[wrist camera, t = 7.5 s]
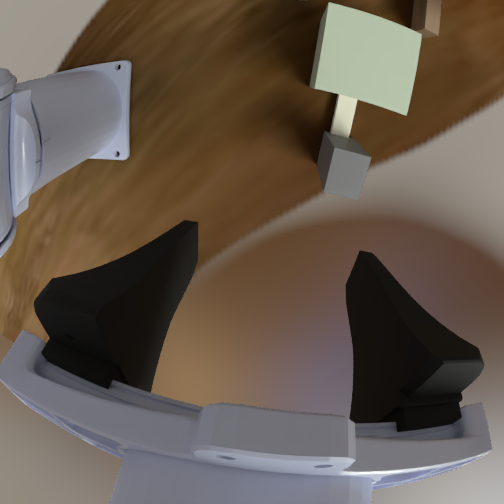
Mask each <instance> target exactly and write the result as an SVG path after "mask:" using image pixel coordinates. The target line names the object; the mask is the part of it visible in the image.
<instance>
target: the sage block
mask: <svg viewBox="0 0 504 504" xmlns="http://www.w3.org/2000/svg"><path fill="white" fill-rule="evenodd" d="M421 37H422V34H420V33H418V32H416V31H414V30H411V29H409V28H407V27H404V26H402V25H399V24H397V23H394V22H392V21H389V20H386V19H384V18H381V17H378V16H375V15H372V14H369V13H366V12H363V11H360V10H356V9H353V8H349V7H345V6H342V5H338V4H334V3H328V5H327V8H326V10H325V12H324V14H323V16H322V18H321V21H320V27H319V33H318V39H317V45H316V51H315V57H314V63H313V69H312V75H311V80H310V86H309V87H310V88H315V89H319V90H324V91H328V92H332V93H336V94H338V96H337V101H336V106H335V111H334V116H333V120H332V125H331V130H330V132H328V131H324V134H323V138H322V143H321V147H320V152H319V156H318V161H317V168H318V172H319V176H320V180H321V184H322V188H323V192H326V193H330V194H335V195H339V196H343V197H348V198H352V199H356V200H359V197H360V194H361V190H362V187H363V184H364V181H365V178H366V174H367V171H368V167H369V164H370V160H371V157H370V155H369V154H368V153H367V152H366V151H365V150H364V149H363V148H362V147H361V146H360V145H359V144H358V143H357V142H356V141H355V140H354V139H353V138H351V137H349V134H350V130H351V126H352V122H353V117H354V113H355V108H356V104H357V99H358V100H361V101H365V102H368V103H371V104H374V105H377V106H380V107H383V108H386V109H389V110H392V111H395V112H398V113H400V114H403V115H406V116H407V111H408V107H409V103H410V98H411V94H412V89H413V84H414V79H415V74H416V69H417V63H418V57H419V51H420V44H421Z"/></svg>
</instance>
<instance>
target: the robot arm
mask: <svg viewBox="0 0 504 504" xmlns="http://www.w3.org/2000/svg"><path fill="white" fill-rule="evenodd" d="M119 64H120V65H121V68H120V70H119V69H118V66H119ZM131 67H132V65H131V62H130V61H128V60H123V61H115V62H108V63H102V64H96V65H90V66H85V67H80V68H75V69H71V70H66V71H62V72H58V73H54V74H50V75H48V76H47V77H44V78H39V79H35V80H30V81H26V82H22V83H18V84H16V82H17V79H16V77H15V76H14V75H12V74H11V73H10V71H9V70H7V69H1V68H0V257H1V256H2V255H3V254H4V253H5V252H6V251H7V249H8V248H9V247H10V245H11V243H12V242H13V240H14V237H15V234H16V228H17V222H16V217H17V216H18V215H19V214H21V213H22V212H23V211H24V210H26V209H27V208H28V199H29V196H30V195H31V194H32V193H34V192H35V191H37V190H38V189H40V188H41V187H42V186H44V185H45V184H47V183H48V182H50V181H52V180H53V179H55V178H56V177H58V176H59V175H61V174H63V173H64V172H66V171H67V170H69V169H71V168H72V167H74V166H76V165H78V164H79V163H81V162H83V161H85V160H86V159H88V158H94V159H113V160H125V159H127V158H128V157H129V154H130V148H129V107H130V82H131ZM117 151H118V152H119V153H120V156H119V155H118V154H117ZM197 261H198V222H193V221H187V220H185V221H183V222H181V223H180V224H178V225H176V226H175V227H173V228H172V229H170V230H169V231H167V232H166V233H164V234H162V235H161V236H159V237H158V238H156V239H155V240H153V241H151V242H149V243H148V244H146V245H144V246H143V247H141V248H139V249H137V250H136V251H134V252H132V253H130V254H128V255H126V256H124V257H121V258H119V259H117V260H115V261H112V262H109V263H107V264H104V265H102V266H99V267H96V268H93V269H90V270H87V271H83V272H80V273H76V274H72V275H67V276H62V277H58V278H52V279H51V280H50V282H49V283H48V284H47V285H46V287H45V288H44V289H43V290H42V291H41V293H40V294H39V295H38V297H37V298H36V299H35V301H34V308H35V312H36V315H37V317H38V319H39V320H40V322H41V324H42V326H43V327H44V329H45V331H46V332H47V334H48V335H49V337H50V339H49V340H48V342H47V344H46V343H45V342H44V341H43V340H42V339H40V338H39V337H37V336H35V335H33V334H31V333H29V332H27V331H26V330H22V332H21V333H20V335H19V336H18V338H17V339H16V341H15V342H14V344H13V345H12V347H11V348H10V350H9V352H8V353H7V355H6V357H5V358H4V360H3V361H2V363H1V365H0V381H1V382H2V383H3V384H4V385H5V386H6V387H7V388H8V389H9V390H10V391H11V392H12V393H13V394H15V396H17V397H18V398H19V399H20V400H21V401H22V402H23V403H24V404H26V405H27V406H28V407H30V408H31V409H33V410H34V411H36V412H37V413H39V414H40V415H42V416H43V417H45V418H47V419H48V420H50V421H51V422H53V423H55V424H56V425H58V426H59V427H61V428H63V429H64V430H66V431H68V432H70V433H71V434H73V435H75V436H77V437H79V438H80V439H82V440H84V441H86V442H88V443H90V444H92V445H94V446H96V447H98V448H100V449H102V450H104V451H106V452H108V453H111V454H113V455H115V456H117V457H120V458H122V459H123V461H122V463H121V467H120V470H119V473H118V476H117V479H116V482H115V485H114V489H113V492H112V496H111V499H110V502H109V504H371V503H372V490H375V489H382V488H387V487H392V486H397V485H401V484H406V483H410V482H414V481H418V480H422V479H426V478H430V477H433V476H436V475H439V474H443V473H446V472H449V471H453V470H455V469H457V468H460V467H462V466H464V465H466V464H468V463H470V462H472V461H474V460H476V459H478V458H480V457H482V456H484V455H485V454H487V453H489V452H491V450H492V446H491V440H490V434H489V430H488V425H487V420H486V416H485V411H484V407H483V403H481V402H480V403H475V404H470V405H466V406H463V407H461V408H460V406H459V402H460V401H462V394H461V392H462V391H463V390H464V389H465V388H466V387H468V386H469V385H470V384H471V383H472V382H473V381H474V380H475V379H476V378H477V377H478V376H479V375H480V374H481V372H482V370H483V368H484V362H483V359H482V357H481V354H480V351H479V349H478V348H477V347H476V346H474V345H472V344H470V343H468V342H467V341H465V340H464V339H462V338H460V337H459V336H457V335H456V334H455V333H453V332H452V331H450V330H449V329H447V328H446V327H445V326H443V325H442V324H441V323H439V322H438V321H437V320H436V319H435V318H433V317H432V316H431V315H430V314H429V313H428V312H426V311H425V310H424V309H423V308H422V307H421V306H420V305H419V304H418V303H417V302H416V301H415V300H414V299H413V298H412V297H411V296H410V295H409V294H408V293H407V292H406V290H405V289H404V288H403V287H402V286H401V285H400V284H399V283H398V281H397V280H396V279H395V278H394V277H393V276H392V275H391V273H390V272H389V271H388V270H387V269H386V267H385V266H384V265H383V264H382V263H381V262H380V261H379V259H378V258H377V257H376V256H375V255H374V254H372V253H370V252H365V251H359V254H358V257H357V259H356V262H355V264H354V267H353V269H352V271H351V274H350V276H349V278H348V281H347V283H346V305H347V311H348V317H349V324H350V330H351V337H352V344H353V360H354V361H353V364H354V365H353V366H354V367H353V371H354V372H353V392H352V404H351V412H350V419H348V418H347V417H345V416H340V415H333V414H322V413H307V412H295V411H285V410H276V409H269V408H261V407H255V406H247V405H242V404H230V403H216V404H209V405H207V406H204V407H202V406H197V405H193V404H189V403H185V402H181V401H177V400H174V399H170V398H167V397H163V396H160V395H156V394H153V393H151V389H152V384H153V380H154V376H155V372H156V368H157V364H158V360H159V357H160V353H161V350H162V347H163V343H164V340H165V337H166V334H167V331H168V328H169V325H170V322H171V320H172V318H173V315H174V313H175V311H176V309H177V307H178V305H179V303H180V301H181V299H182V297H183V295H184V293H185V291H186V289H187V287H188V285H189V282H190V280H191V278H192V276H193V273H194V270H195V267H196V264H197Z"/></svg>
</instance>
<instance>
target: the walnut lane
mask: <svg viewBox="0 0 504 504" xmlns="http://www.w3.org/2000/svg"><path fill="white" fill-rule="evenodd" d="M299 1H305V2H308V0H299ZM440 14H441V0H414V3H413V13H412V22H411V30H414V31H416V32H418V33H420V34H422V37H421V38H428V37H433V36H438V34H439V25H440Z"/></svg>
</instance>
